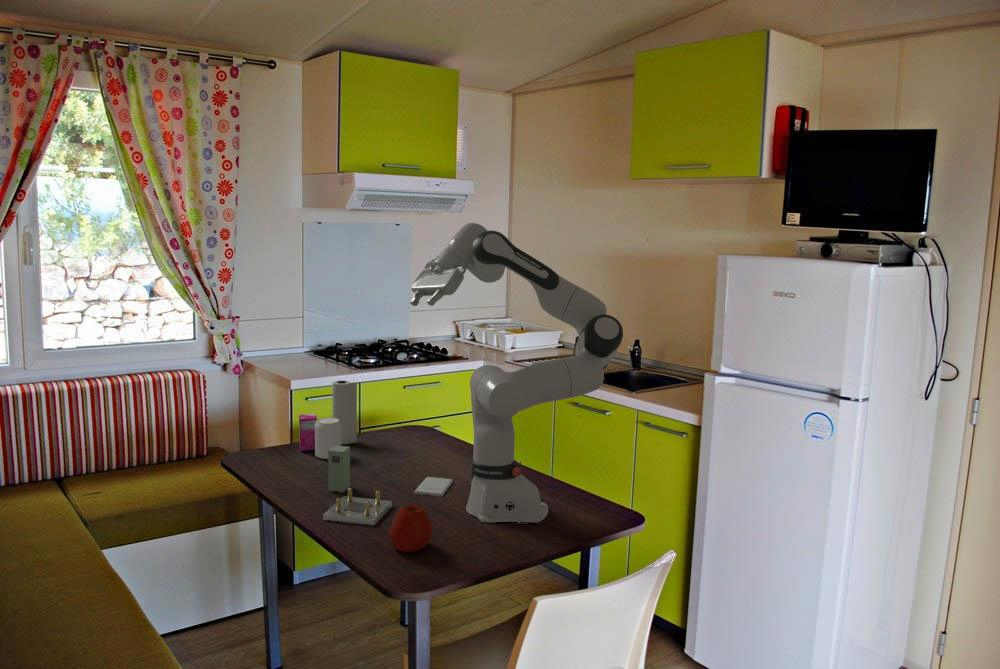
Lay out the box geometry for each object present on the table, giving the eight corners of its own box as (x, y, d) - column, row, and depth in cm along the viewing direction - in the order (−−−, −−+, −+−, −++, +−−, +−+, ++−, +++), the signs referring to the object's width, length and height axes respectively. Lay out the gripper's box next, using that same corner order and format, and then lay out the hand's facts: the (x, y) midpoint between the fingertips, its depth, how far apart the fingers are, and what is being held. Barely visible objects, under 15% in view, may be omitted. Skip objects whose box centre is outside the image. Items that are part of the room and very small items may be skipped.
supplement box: (299, 447, 273) (298, 414, 271) (317, 446, 275) (316, 413, 273) (299, 452, 267) (299, 418, 266) (318, 451, 269) (318, 417, 267)
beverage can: (316, 452, 268) (316, 417, 266) (341, 452, 269) (341, 417, 267) (313, 460, 260) (313, 423, 258) (339, 460, 261) (339, 423, 259)
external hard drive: (452, 484, 244) (441, 498, 232) (426, 481, 245) (414, 495, 233) (452, 479, 243) (441, 493, 231) (426, 476, 245) (414, 490, 233)
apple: (432, 556, 193) (432, 514, 191) (388, 556, 192) (388, 514, 190) (432, 538, 203) (433, 498, 201) (390, 538, 202) (391, 498, 200)
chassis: (391, 506, 223) (392, 488, 222) (374, 525, 210) (374, 507, 209) (343, 501, 226) (343, 483, 225) (323, 520, 212) (323, 501, 211)
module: (349, 486, 237) (349, 446, 235) (343, 492, 233) (343, 451, 231) (335, 484, 238) (335, 445, 236) (328, 490, 233) (328, 450, 231)
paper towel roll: (328, 442, 279) (328, 381, 275) (341, 438, 284) (341, 379, 280) (343, 446, 275) (343, 385, 271) (356, 442, 280) (356, 382, 276)
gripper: (475, 274, 227) (447, 311, 222) (437, 277, 244) (411, 311, 239) (460, 258, 224) (432, 296, 219) (423, 262, 241) (396, 297, 236)
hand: (421, 304), depth 229 cm, fingers open, 8 cm apart
